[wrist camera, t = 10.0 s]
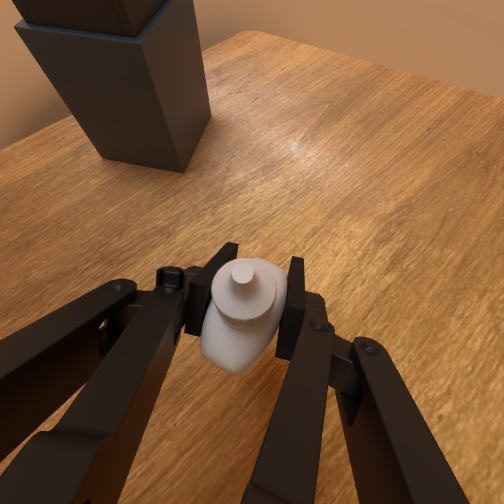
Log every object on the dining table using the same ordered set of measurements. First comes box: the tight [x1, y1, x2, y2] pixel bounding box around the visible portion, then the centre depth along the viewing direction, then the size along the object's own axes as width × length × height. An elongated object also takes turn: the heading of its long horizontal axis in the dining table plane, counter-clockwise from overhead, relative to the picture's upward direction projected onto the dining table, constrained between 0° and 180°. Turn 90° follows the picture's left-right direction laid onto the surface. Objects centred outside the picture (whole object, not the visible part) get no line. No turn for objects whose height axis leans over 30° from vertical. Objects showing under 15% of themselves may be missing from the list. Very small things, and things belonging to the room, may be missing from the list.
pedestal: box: [12, 0, 211, 173], centre depth 30 cm, size 12×12×18 cm
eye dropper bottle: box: [200, 257, 287, 377], centre depth 14 cm, size 4×6×12 cm
